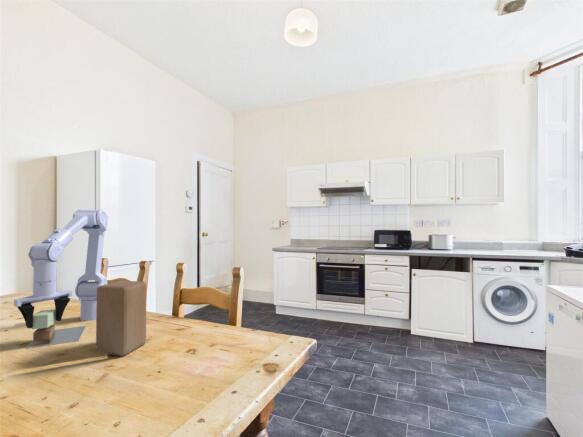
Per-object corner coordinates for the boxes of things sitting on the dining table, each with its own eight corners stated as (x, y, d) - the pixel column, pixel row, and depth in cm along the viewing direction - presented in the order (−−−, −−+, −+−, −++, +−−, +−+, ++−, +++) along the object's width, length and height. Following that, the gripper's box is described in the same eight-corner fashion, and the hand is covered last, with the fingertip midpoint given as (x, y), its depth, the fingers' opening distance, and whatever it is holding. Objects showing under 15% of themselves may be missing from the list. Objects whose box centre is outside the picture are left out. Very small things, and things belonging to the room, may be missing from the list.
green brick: (56, 321, 97) (56, 309, 97) (47, 327, 91) (47, 314, 91) (41, 322, 96) (41, 310, 96) (31, 329, 90) (31, 315, 90)
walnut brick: (54, 337, 97) (54, 324, 97) (49, 343, 92) (49, 330, 92) (38, 339, 95) (39, 326, 95) (33, 346, 90) (33, 332, 90)
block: (123, 357, 85) (124, 287, 85) (94, 354, 87) (95, 286, 87) (147, 343, 95) (147, 281, 95) (120, 341, 97) (121, 280, 97)
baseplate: (86, 328, 108) (86, 325, 108) (78, 344, 94) (78, 340, 94) (40, 335, 102) (40, 331, 102) (24, 352, 88) (24, 348, 88)
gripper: (64, 276, 102) (63, 315, 102) (9, 283, 89) (8, 329, 89) (75, 278, 99) (75, 318, 99) (20, 285, 86) (19, 332, 86)
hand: (44, 323), depth 94 cm, fingers closed on green brick, 7 cm apart
